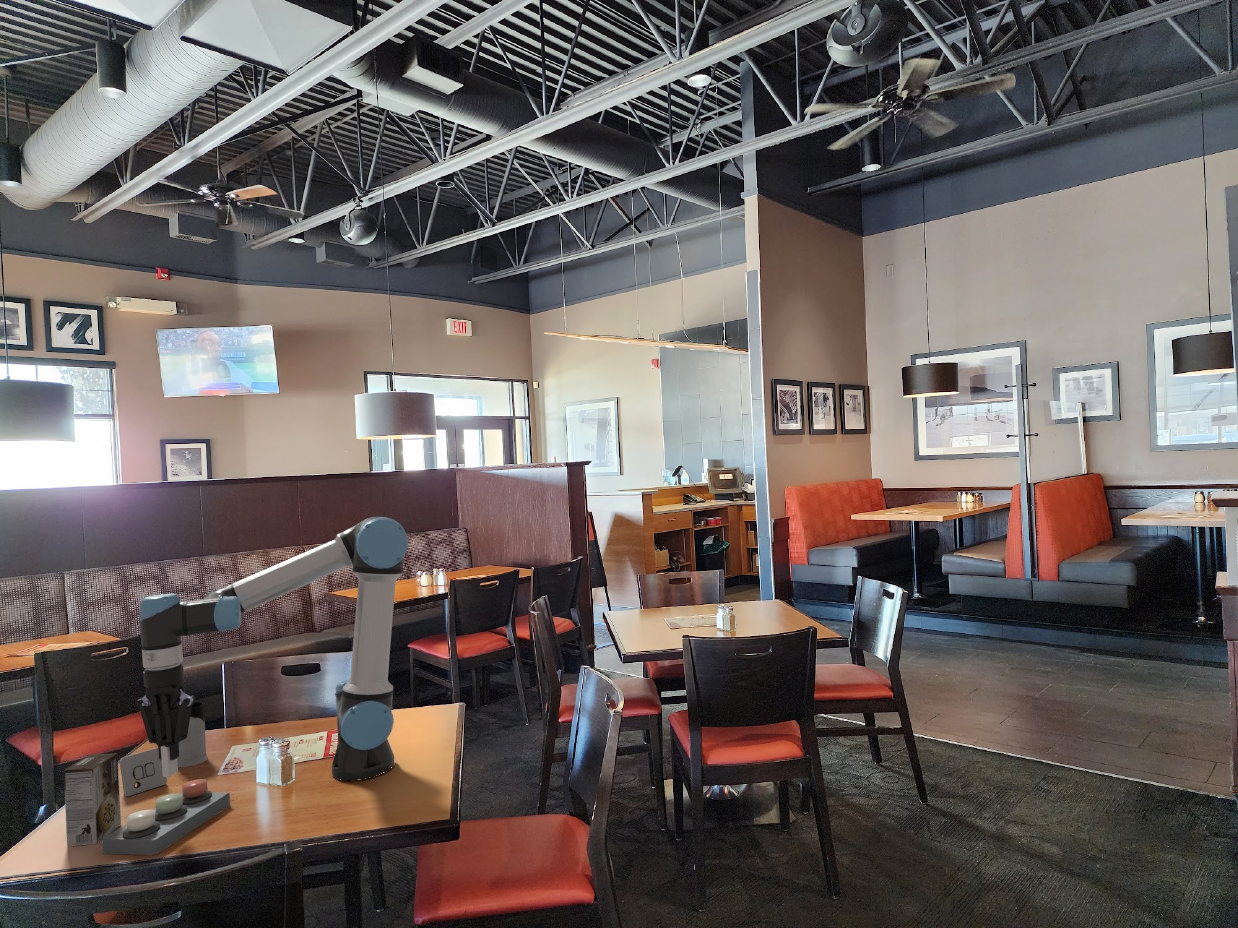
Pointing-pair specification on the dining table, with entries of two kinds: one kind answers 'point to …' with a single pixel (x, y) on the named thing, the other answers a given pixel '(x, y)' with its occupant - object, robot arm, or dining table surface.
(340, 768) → the robot arm
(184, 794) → the red button
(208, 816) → the button panel
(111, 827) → the cookie box
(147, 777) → the electrical switch
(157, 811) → the green button
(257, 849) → the dining table surface
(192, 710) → the glass holder
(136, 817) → the cream button
